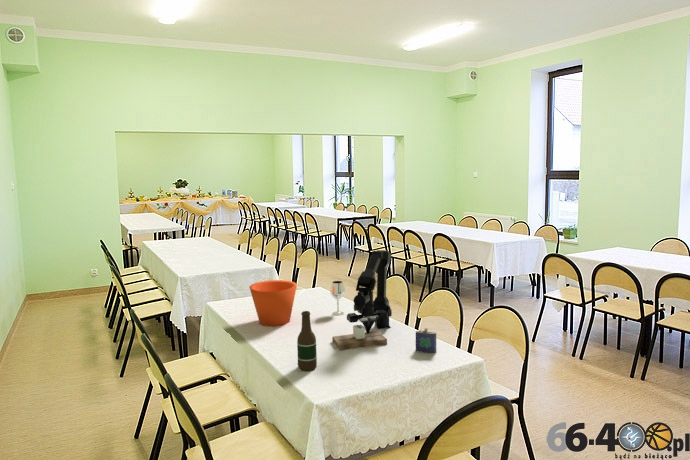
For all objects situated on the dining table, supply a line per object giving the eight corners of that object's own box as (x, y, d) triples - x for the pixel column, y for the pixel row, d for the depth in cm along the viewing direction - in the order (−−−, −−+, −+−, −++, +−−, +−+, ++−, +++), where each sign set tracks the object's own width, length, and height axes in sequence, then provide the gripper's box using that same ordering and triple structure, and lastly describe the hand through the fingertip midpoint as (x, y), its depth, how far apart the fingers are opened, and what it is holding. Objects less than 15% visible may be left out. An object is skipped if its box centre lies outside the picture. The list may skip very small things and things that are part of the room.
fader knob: (361, 334, 241) (361, 324, 241) (364, 338, 237) (364, 327, 236) (353, 335, 240) (353, 325, 239) (356, 339, 235) (356, 328, 235)
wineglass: (343, 315, 281) (343, 284, 278) (329, 315, 282) (328, 283, 280) (346, 311, 288) (346, 280, 286) (332, 311, 290) (331, 280, 288)
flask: (436, 351, 227) (436, 328, 225) (436, 353, 224) (436, 330, 223) (415, 349, 229) (415, 326, 228) (415, 351, 227) (414, 328, 225)
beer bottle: (298, 364, 215) (296, 309, 212) (316, 363, 216) (315, 308, 212) (298, 372, 207) (296, 315, 204) (317, 371, 208) (315, 314, 205)
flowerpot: (241, 326, 266) (240, 289, 264) (266, 312, 289) (265, 278, 287) (284, 331, 257) (282, 293, 254) (306, 317, 280) (305, 281, 277)
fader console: (377, 335, 248) (377, 330, 247) (387, 344, 236) (387, 338, 236) (332, 341, 241) (332, 336, 241) (339, 350, 230) (339, 344, 229)
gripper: (379, 295, 248) (379, 326, 250) (342, 299, 242) (343, 330, 244) (388, 301, 237) (388, 333, 239) (350, 305, 232) (350, 338, 234)
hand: (367, 333), depth 239 cm, fingers closed
